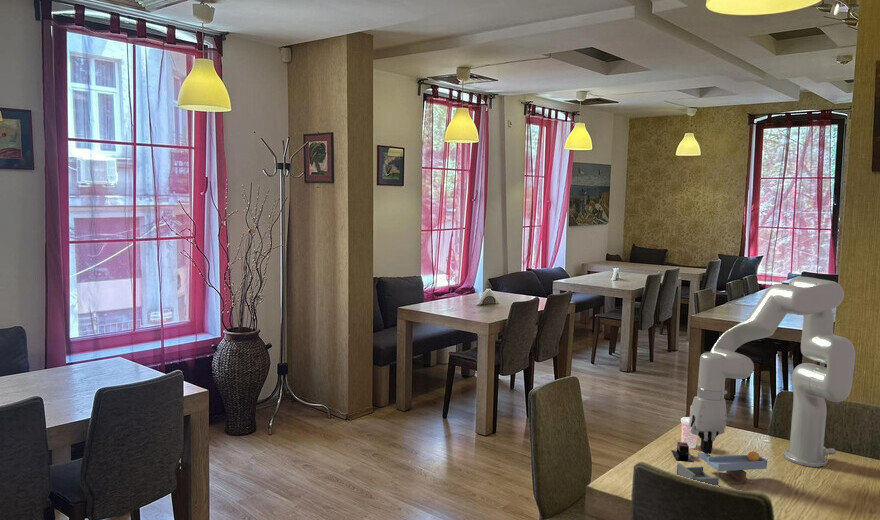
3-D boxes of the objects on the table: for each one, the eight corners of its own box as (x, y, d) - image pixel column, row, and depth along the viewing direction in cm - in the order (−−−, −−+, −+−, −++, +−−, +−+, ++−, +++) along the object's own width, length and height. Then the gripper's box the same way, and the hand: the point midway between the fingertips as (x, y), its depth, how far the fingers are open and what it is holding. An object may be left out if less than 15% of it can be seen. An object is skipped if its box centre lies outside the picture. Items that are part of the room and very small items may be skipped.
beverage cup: (677, 441, 232) (680, 402, 230) (695, 443, 231) (698, 403, 229) (681, 448, 226) (683, 407, 224) (700, 449, 225) (703, 409, 223)
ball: (754, 459, 204) (755, 449, 204) (761, 464, 201) (762, 453, 201) (745, 460, 203) (745, 450, 203) (751, 464, 200) (752, 454, 200)
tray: (701, 474, 204) (702, 462, 204) (718, 486, 196) (719, 473, 195) (676, 476, 202) (677, 463, 202) (692, 488, 194) (693, 474, 194)
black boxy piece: (697, 466, 212) (698, 452, 212) (673, 464, 213) (674, 450, 213) (689, 451, 224) (690, 438, 224) (666, 449, 225) (667, 436, 225)
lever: (742, 454, 211) (743, 446, 211) (766, 468, 200) (767, 460, 200) (696, 456, 208) (696, 448, 208) (718, 471, 197) (718, 462, 197)
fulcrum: (737, 473, 206) (737, 462, 205) (752, 483, 199) (753, 471, 198) (719, 474, 204) (720, 463, 204) (734, 484, 197) (735, 472, 197)
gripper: (725, 389, 210) (720, 446, 211) (681, 390, 207) (677, 448, 208) (740, 397, 202) (735, 456, 204) (695, 398, 199) (690, 458, 201)
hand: (705, 452), depth 206 cm, fingers closed
